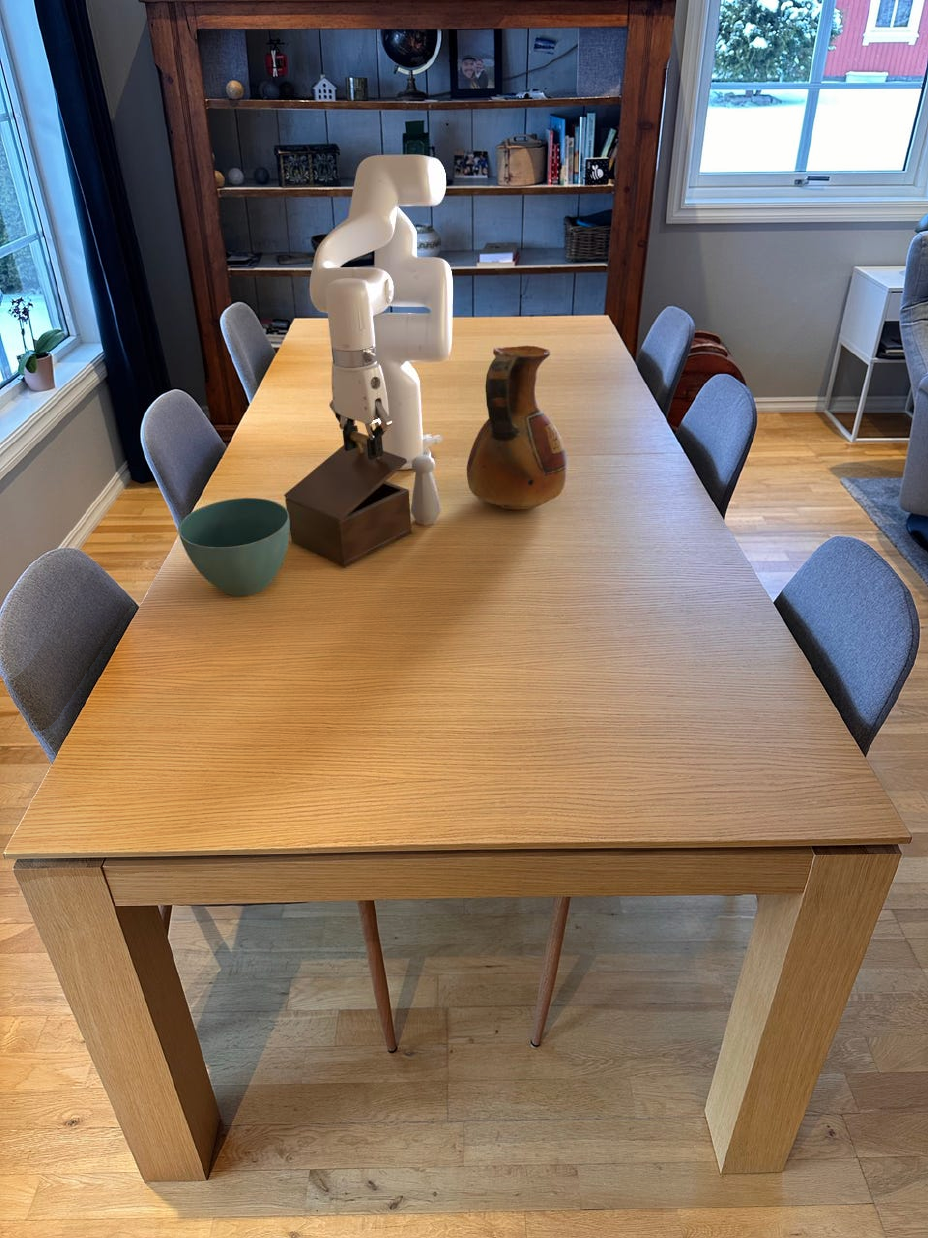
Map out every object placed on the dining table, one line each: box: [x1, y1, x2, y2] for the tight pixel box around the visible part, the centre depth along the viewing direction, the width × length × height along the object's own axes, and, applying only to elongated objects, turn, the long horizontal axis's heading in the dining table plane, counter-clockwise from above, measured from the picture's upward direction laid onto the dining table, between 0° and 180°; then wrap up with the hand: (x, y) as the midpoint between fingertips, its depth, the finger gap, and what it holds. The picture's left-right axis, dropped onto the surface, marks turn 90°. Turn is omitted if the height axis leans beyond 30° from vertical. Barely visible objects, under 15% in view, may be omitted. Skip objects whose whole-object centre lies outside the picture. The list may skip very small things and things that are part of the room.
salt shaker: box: [410, 456, 442, 526], centre depth 175 cm, size 6×6×13 cm
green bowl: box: [177, 497, 290, 597], centre depth 157 cm, size 18×18×12 cm
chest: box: [284, 480, 413, 568], centre depth 171 cm, size 17×15×9 cm
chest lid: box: [283, 431, 407, 522], centre depth 166 cm, size 18×15×5 cm
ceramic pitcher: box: [466, 345, 568, 510], centre depth 178 cm, size 20×20×30 cm
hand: (363, 451), depth 168 cm, fingers closed on chest lid, 5 cm apart
